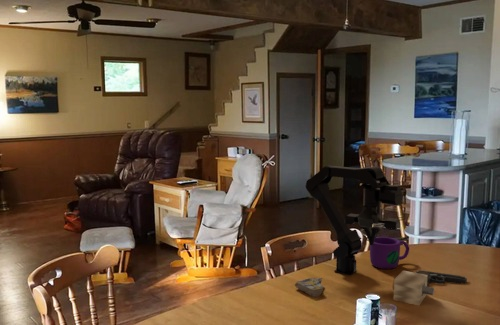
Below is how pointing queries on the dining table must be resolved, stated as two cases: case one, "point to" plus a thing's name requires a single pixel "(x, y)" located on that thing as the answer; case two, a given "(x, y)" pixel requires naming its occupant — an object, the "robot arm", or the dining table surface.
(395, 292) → the block
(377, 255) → the mug
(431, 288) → the pin
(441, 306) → the dining table surface
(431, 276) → the handgun
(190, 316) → the dining table surface
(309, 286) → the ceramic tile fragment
